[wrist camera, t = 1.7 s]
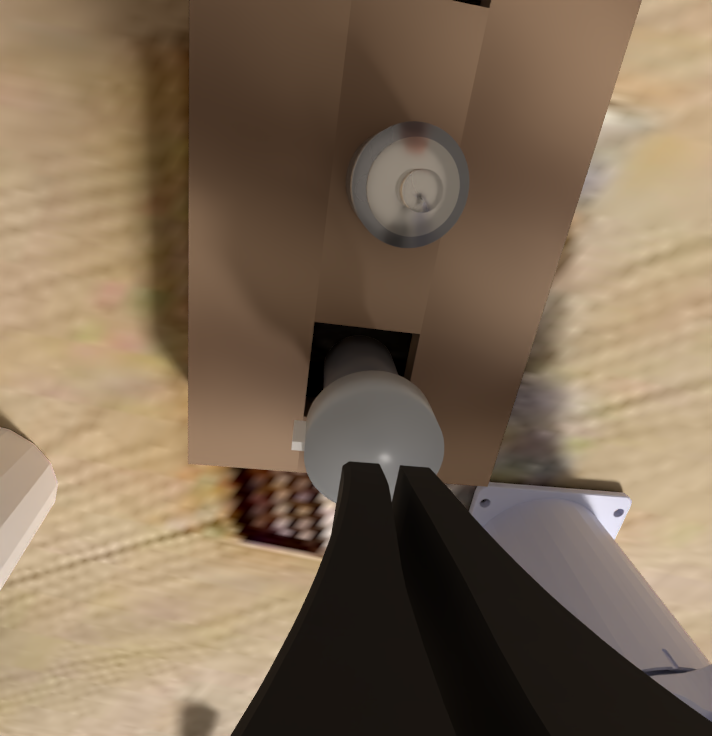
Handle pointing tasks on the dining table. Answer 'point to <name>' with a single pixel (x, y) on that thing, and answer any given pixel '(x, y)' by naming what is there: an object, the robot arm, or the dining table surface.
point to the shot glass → (21, 496)
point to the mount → (343, 227)
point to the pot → (408, 184)
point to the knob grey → (366, 418)
